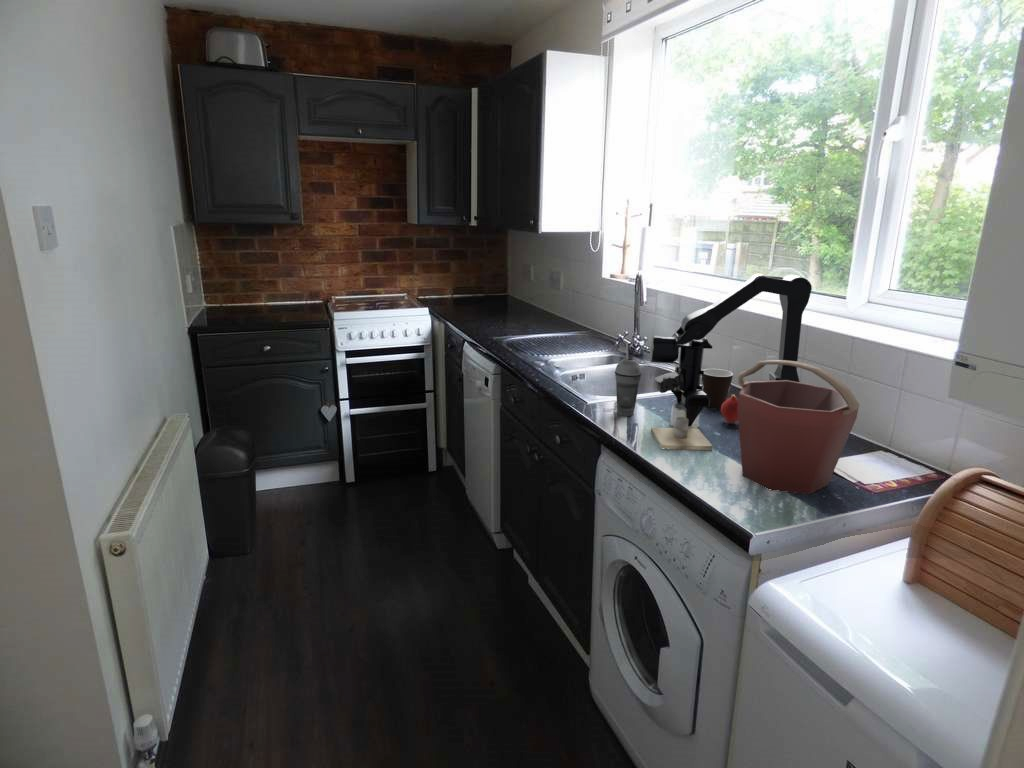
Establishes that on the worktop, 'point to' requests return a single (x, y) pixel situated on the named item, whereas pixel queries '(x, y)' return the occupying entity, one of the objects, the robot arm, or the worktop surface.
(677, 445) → the post board
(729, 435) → the worktop surface
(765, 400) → the bucket
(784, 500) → the worktop surface
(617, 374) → the beverage cup
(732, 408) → the onion
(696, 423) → the steel ring
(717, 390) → the coffee mug
